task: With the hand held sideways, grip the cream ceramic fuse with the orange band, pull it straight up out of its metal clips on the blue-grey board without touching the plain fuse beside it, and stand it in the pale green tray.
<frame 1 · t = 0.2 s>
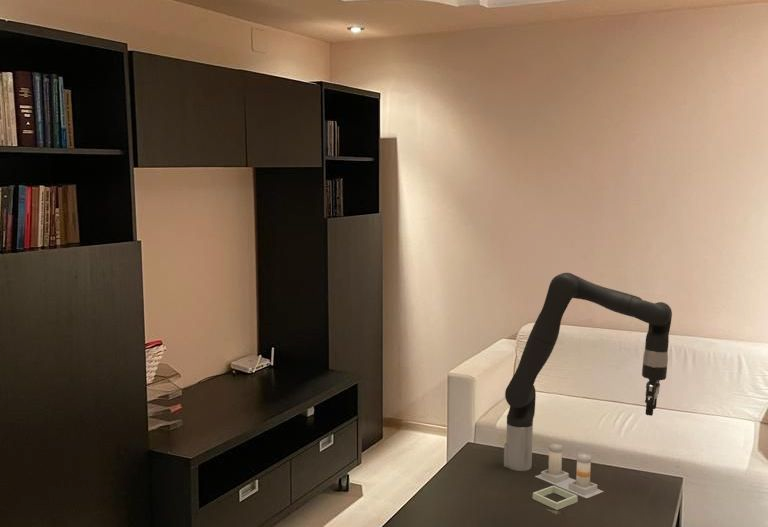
hand: (650, 411, 238), 29 cm above the table, tool pointing down, fingers open, 8 cm apart
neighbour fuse: (554, 477, 251), point 2 cm above the table, touching fuse board
tray: (554, 504, 234), on the table
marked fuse: (582, 489, 242), point 2 cm above the table, touching fuse board
fuse board: (568, 487, 247), on the table
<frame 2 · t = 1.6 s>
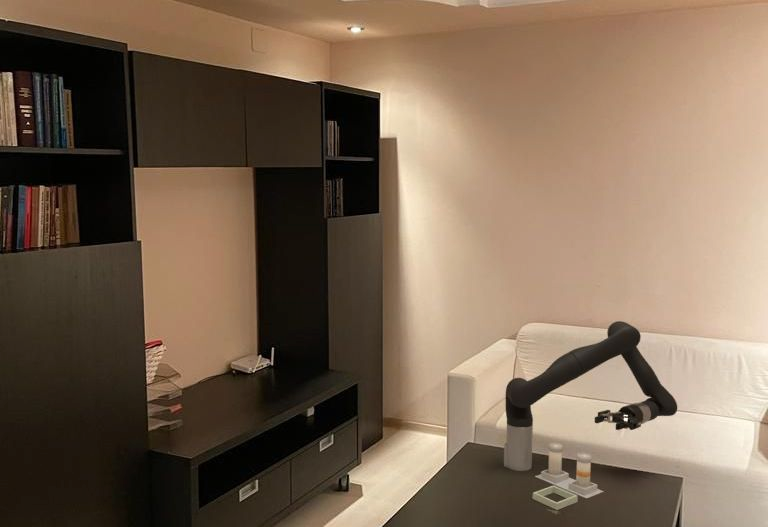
hand: (605, 423, 246), 22 cm above the table, tool horizontal, fingers open, 8 cm apart
nothing on the table moved.
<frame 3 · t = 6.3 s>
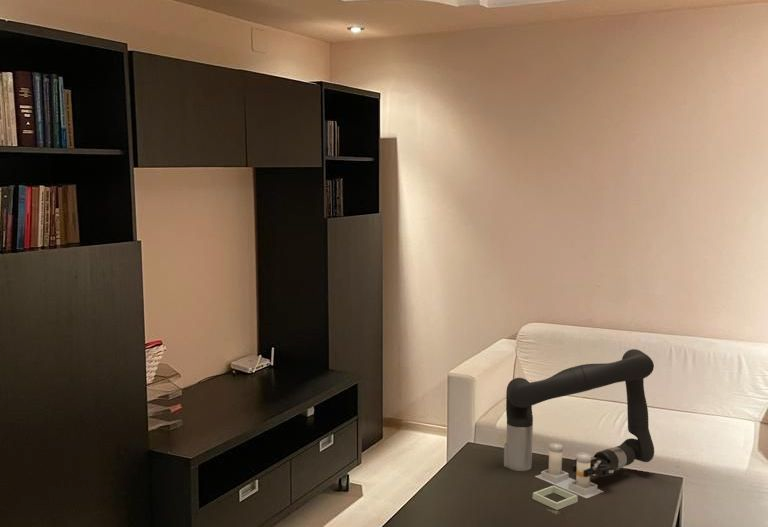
hand: (578, 471, 239), 8 cm above the table, tool horizontal, fingers closed on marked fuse, 4 cm apart
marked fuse: (582, 489, 242), point 2 cm above the table, touching fuse board, gripper
everything else where it was.
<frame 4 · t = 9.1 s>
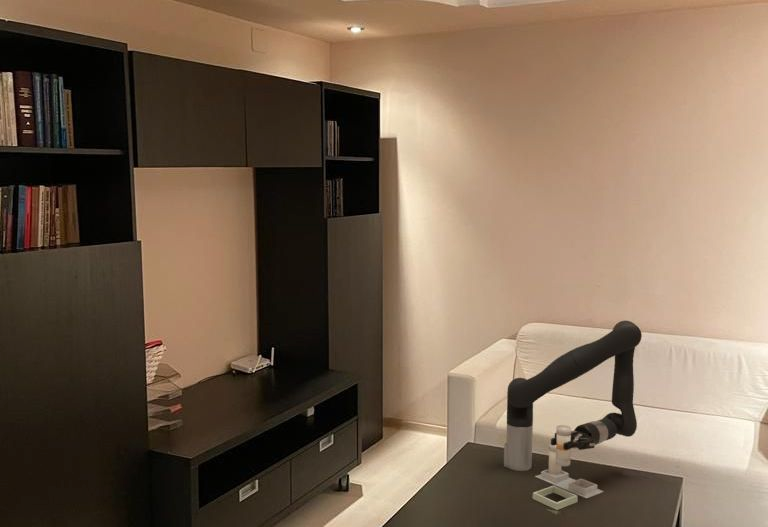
hand: (558, 444, 232), 20 cm above the table, tool horizontal, fingers closed on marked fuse, 4 cm apart
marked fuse: (562, 463, 234), point 13 cm above the table, touching gripper
everything else where it was.
when the fingers open (9 cm above the table, at t = 11.9 s): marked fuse drops 1 cm, resting on tray.
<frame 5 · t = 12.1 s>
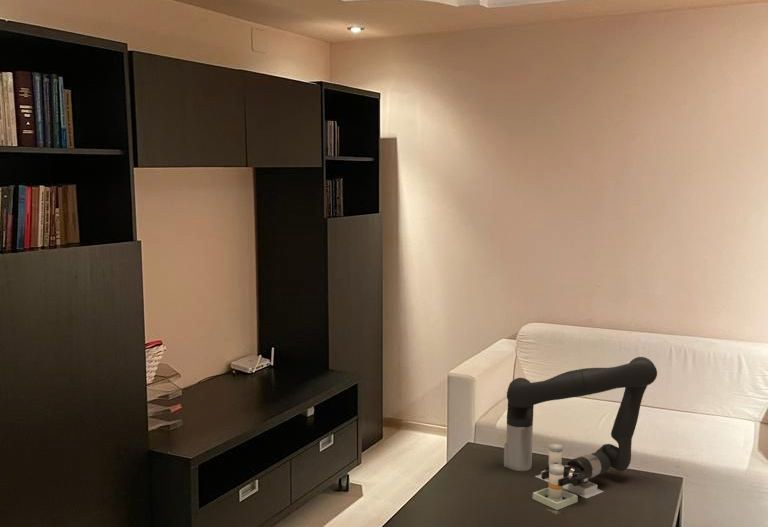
hand: (550, 479, 231), 9 cm above the table, tool horizontal, fingers open, 6 cm apart
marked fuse: (554, 502, 234), point 1 cm above the table, touching tray
everything else where it was.
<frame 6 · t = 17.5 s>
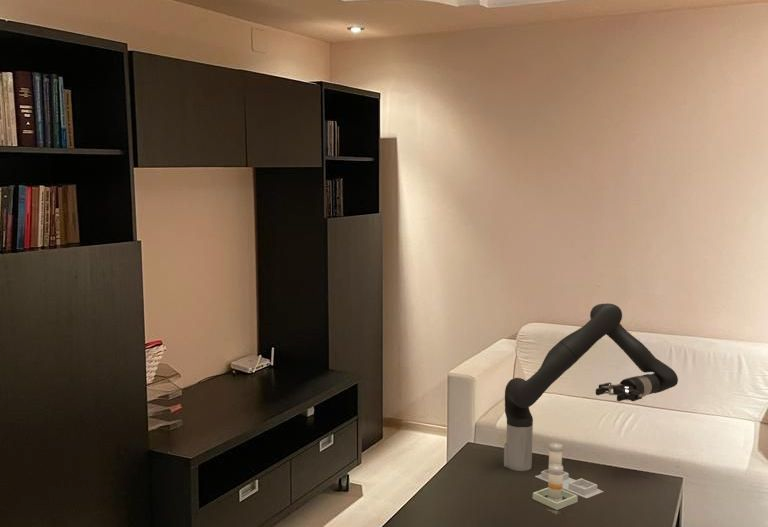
hand: (607, 395, 245), 32 cm above the table, tool horizontal, fingers open, 8 cm apart
nothing on the table moved.
at the end: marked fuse inside the target area on the tray (0.1 cm from its centre), point 0.8 cm above the tray's base; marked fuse tilted 0°; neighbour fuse moved 0.0 cm from its start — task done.
